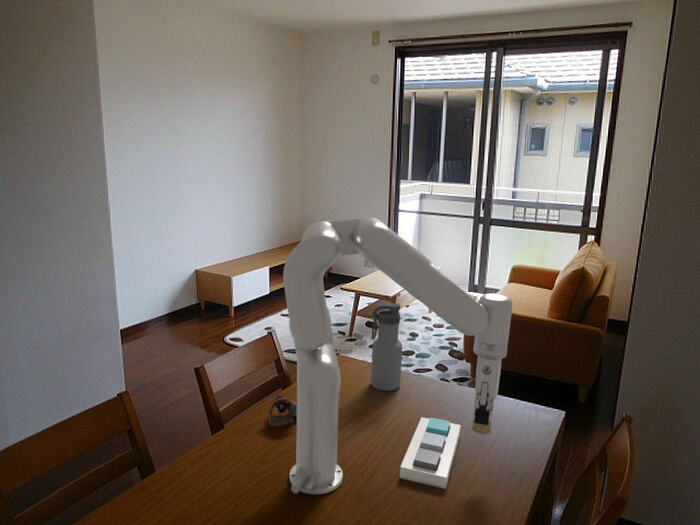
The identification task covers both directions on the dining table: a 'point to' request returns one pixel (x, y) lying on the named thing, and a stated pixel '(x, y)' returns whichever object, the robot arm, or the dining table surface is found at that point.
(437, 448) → the slate key
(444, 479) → the keypad frame
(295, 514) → the dining table surface
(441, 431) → the teal key
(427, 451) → the charcoal key
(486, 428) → the sprinkles bottle
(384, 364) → the water bottle
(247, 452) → the dining table surface
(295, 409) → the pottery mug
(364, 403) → the dining table surface
